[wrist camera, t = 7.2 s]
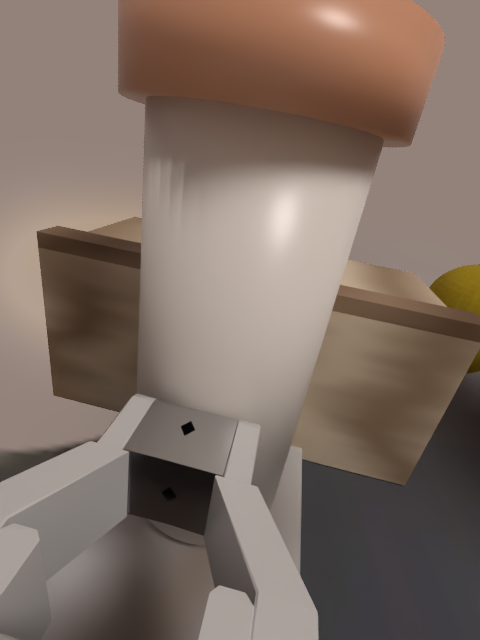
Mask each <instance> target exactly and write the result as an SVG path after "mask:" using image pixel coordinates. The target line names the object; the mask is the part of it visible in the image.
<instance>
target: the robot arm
mask: <svg viewBox="0 0 480 640" xmlns="http://www.w3.org/2000/svg"><path fill="white" fill-rule="evenodd" d="M238 421H239V422H238ZM260 430H261V426H260V425H259V424H255V423H251V422H247V421H242V420H237V419H233V418H229V417H224V416H220V415H216V414H212V413H208V412H204V411H200V410H196V409H193V408H189V407H185V406H182V405H178V404H175V403H171V402H168V401H164V400H161V399H155V398H152V397H148V396H145V395H141V394H138V393H137V394H135V395H134V396H132V397H131V398H130V400H129V401H128V402H127V404H126V405H125V406H124V407H123V409H122V410H121V411H120V413H119V414H118V416H117V417H116V418H115V419H114V421H113V422H112V423H111V424H110V426H109V427H108V428H107V430H106V431H105V432H104V434H103V435H102V436H101V438H100V439H99V440H98V441H97V443H96V442H92V441H89V442H87V443H85V444H82V445H80V446H78V447H76V448H74V449H72V450H69V451H67V452H65V453H63V454H61V455H59V456H56V457H54V458H52V459H50V460H48V461H46V462H43V463H41V464H39V465H37V466H35V467H32V468H30V469H28V470H26V471H24V472H22V473H19V474H17V475H15V476H13V477H11V478H9V479H6V480H4V481H2V482H0V640H41V639H42V637H43V635H44V633H45V632H46V630H47V628H48V626H49V624H50V622H51V612H50V605H49V599H48V592H47V585H46V581H47V580H48V579H49V578H51V577H52V576H53V575H54V574H56V573H57V572H58V571H59V570H61V569H62V568H63V567H64V566H66V565H67V564H68V563H69V562H71V561H72V560H73V559H74V558H76V557H77V556H78V555H79V554H81V553H82V552H83V551H84V550H86V549H87V548H88V547H89V546H91V545H92V544H93V543H94V542H96V541H97V540H98V539H99V538H101V537H102V536H103V535H104V534H106V533H107V532H108V531H109V530H111V529H112V528H113V527H114V526H116V525H117V524H118V523H119V522H121V521H122V520H123V519H124V518H126V517H127V514H130V515H134V516H138V517H142V518H146V519H150V520H154V521H158V522H162V523H165V524H169V525H172V526H175V527H178V528H181V529H184V530H187V531H190V532H193V533H196V534H200V535H203V536H204V542H205V546H206V551H207V555H208V560H209V564H210V569H211V573H212V578H213V582H214V587H215V589H214V590H212V591H211V592H210V593H209V597H208V601H207V606H206V610H205V614H204V618H203V622H202V626H201V630H200V634H199V638H198V640H318V612H317V610H316V608H315V606H314V604H313V602H312V600H311V597H310V595H309V593H308V591H307V589H306V587H305V585H304V583H303V581H302V579H301V576H300V574H299V572H298V570H297V568H296V566H295V564H294V562H293V560H292V557H291V555H290V553H289V551H288V549H287V547H286V545H285V543H284V541H283V539H282V536H281V534H280V532H279V530H278V528H277V526H276V524H275V522H274V520H273V517H272V515H271V513H270V511H269V509H268V507H267V505H266V503H265V501H264V498H263V496H262V494H261V492H260V490H259V488H258V487H257V486H254V485H251V481H252V476H253V470H254V464H255V459H256V453H257V447H258V442H259V436H260Z"/></svg>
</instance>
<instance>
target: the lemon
mask: <svg viewBox="0 0 480 640" xmlns="http://www.w3.org/2000/svg"><path fill="white" fill-rule="evenodd" d="M429 289H430V290H431V291H432V292H433V293H434V294H435V295H436V296H437V297H438V298H439V299H440V300H441V301H442V302H443V303H444V304H445V305H446V306H447V307H449V308H454V309H459V310H464V311H468V312H473V313H476V314H477V315H478V316H479V317H480V264H479V265H468V266H462V267H459V268H456V269H454V270H451V271H449V272H447V273H445V274H443V275H442V276H440V277H439V278H438V279H437V280H436V281H435V282H434V283H433V284H432V285H431V286H430V287H429ZM478 371H480V349H479V351H478V352H477V354H476V356H475V358H474V360H473V362H472V363H471V365H470V367H469V369H468V371H467V372H466V374H468V373H473V372H478Z"/></svg>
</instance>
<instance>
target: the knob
mask: <svg viewBox="0 0 480 640" xmlns="http://www.w3.org/2000/svg"><path fill="white" fill-rule="evenodd" d="M118 4H119V5H118V6H119V7H118V14H119V17H118V19H119V20H118V25H119V27H118V28H119V29H118V35H119V37H118V40H119V41H118V43H119V44H118V45H119V46H118V48H119V49H118V50H119V51H118V65H119V66H118V80H119V81H118V83H119V84H118V87H119V88H118V91H119V94H121V95H122V96H124V97H126V98H128V99H131V100H134V101H137V102H139V103H142V104H146V105H145V137H144V169H143V201H142V234H141V266H140V298H139V331H138V363H137V393H138V394H141V395H145V396H148V397H152V398H155V399H161V400H164V401H168V402H171V403H175V404H178V405H182V406H185V407H189V408H193V409H196V410H200V411H204V412H208V413H212V414H216V415H220V416H224V417H229V418H233V419H237V420H242V421H247V422H251V423H255V424H259V425H260V426H261V430H260V436H259V442H258V447H257V453H256V459H255V464H254V470H253V476H252V481H251V485H254V486H257V487H258V488H259V490H260V492H261V494H262V496H263V498H264V501H265V503H266V505H267V507H268V509H269V511H270V509H271V507H272V504H273V502H274V499H275V495H276V492H277V489H278V485H279V482H280V479H281V476H282V472H283V469H284V466H285V463H286V459H287V456H288V453H289V450H290V446H291V443H292V440H293V437H294V433H295V430H296V427H297V424H298V420H299V417H300V414H301V410H302V407H303V404H304V401H305V397H306V394H307V391H308V388H309V384H310V381H311V378H312V375H313V371H314V368H315V365H316V362H317V358H318V355H319V352H320V349H321V345H322V342H323V339H324V336H325V332H326V329H327V326H328V322H329V319H330V316H331V313H332V309H333V306H334V303H335V300H336V296H337V293H338V290H339V287H340V283H341V280H342V277H343V274H344V270H345V267H346V264H347V261H348V257H349V254H350V251H351V247H352V244H353V241H354V238H355V234H356V231H357V228H358V224H359V221H360V218H361V215H362V211H363V208H364V205H365V202H366V199H367V195H368V192H369V189H370V186H371V182H372V179H373V176H374V173H375V169H376V166H377V163H378V159H379V156H380V153H381V150H382V147H407V146H410V145H411V143H412V140H413V137H414V134H415V131H416V128H417V126H418V122H419V120H420V117H421V114H422V111H423V108H424V105H425V102H426V99H427V96H428V93H429V90H430V87H431V84H432V81H433V78H434V75H435V72H436V69H437V66H438V64H439V61H440V58H441V55H442V52H443V49H444V45H445V37H444V34H443V31H442V29H441V27H440V26H439V25H438V23H437V22H436V21H435V19H434V18H433V17H432V16H431V15H429V14H428V13H427V12H426V11H425V10H424V9H423V8H421V7H420V6H418V5H417V4H415V3H414V2H412V1H411V0H119V1H118ZM238 422H239V421H238ZM148 520H149V521H150V522H151V523H152V524H153V525H154V526H155V527H156V528H158V529H159V530H161V531H162V532H163V533H165V534H167V535H168V536H170V537H172V538H174V539H177V540H179V541H182V542H185V543H190V544H194V545H205V542H204V536H203V535H200V534H196V533H193V532H190V531H187V530H184V529H181V528H178V527H175V526H172V525H169V524H165V523H162V522H158V521H154V520H150V519H148Z"/></svg>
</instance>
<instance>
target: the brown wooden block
mask: <svg viewBox="0 0 480 640" xmlns="http://www.w3.org/2000/svg"><path fill="white" fill-rule="evenodd" d="M141 234H142V218H138V217H133V218H130V219H127V220H123V221H121V222H117V223H114V224H111V225H108V226H105V227H102V228H98V229H95V230H92V231H89V232H85V231H80V230H75V229H70V228H66V227H61V226H56V227H52V228H48V229H44V230H40V231H37V239H38V248H39V258H40V268H41V277H42V287H43V297H44V306H45V316H46V326H47V335H48V345H49V354H50V364H51V374H52V383H53V393H54V395H55V396H59V397H63V398H67V399H71V400H74V401H78V402H82V403H86V404H90V405H94V406H97V407H102V408H105V409H109V410H113V411H117V412H120V411H121V410H122V409H123V407H124V406H125V405H126V404H127V402H128V401H129V400H130V398H131V397H132V396H134V395H135V394H137V363H138V331H139V298H140V266H141ZM479 349H480V317H479V316H478V315H477V314H476V313H473V312H468V311H464V310H459V309H454V308H449V307H447V306H446V305H445V304H444V303H443V302H442V301H441V300H440V299H439V298H438V297H437V296H436V295H435V294H434V293H433V292H432V291H431V290H430V289H429V288H428V287H427V285H425V283H424V282H423V281H422V280H421V279H419V277H418V276H417V275H416V274H415V273H410V272H406V271H401V270H396V269H391V268H386V267H380V266H376V265H371V264H366V263H361V262H356V261H351V260H348V261H347V264H346V267H345V270H344V274H343V277H342V280H341V283H340V287H339V290H338V293H337V296H336V300H335V303H334V306H333V309H332V313H331V316H330V319H329V322H328V326H327V329H326V332H325V336H324V339H323V342H322V345H321V349H320V352H319V355H318V358H317V362H316V365H315V368H314V371H313V375H312V378H311V381H310V384H309V388H308V391H307V394H306V397H305V401H304V404H303V407H302V410H301V414H300V417H299V420H298V424H297V427H296V430H295V433H294V437H293V440H292V443H291V446H290V450H289V453H288V456H287V459H286V463H285V466H284V469H283V472H282V476H281V479H280V482H279V485H278V489H277V492H276V495H275V499H274V502H273V504H272V507H271V509H270V513H271V515H272V517H273V520H274V522H275V524H276V526H277V528H278V530H279V532H280V534H281V536H282V539H283V541H284V543H285V545H286V547H287V549H288V551H289V553H290V555H291V557H292V560H293V562H294V564H295V566H296V568H297V570H298V572H299V574H300V540H301V486H302V459H303V460H307V461H311V462H315V463H319V464H322V465H326V466H330V467H334V468H338V469H342V470H346V471H350V472H354V473H357V474H361V475H365V476H369V477H373V478H377V479H381V480H385V481H388V482H392V483H396V484H400V485H404V486H405V484H406V482H407V480H408V478H409V477H410V475H411V473H412V471H413V469H414V468H415V466H416V464H417V462H418V460H419V458H420V457H421V455H422V453H423V451H424V449H425V447H426V446H427V444H428V442H429V440H430V438H431V436H432V435H433V433H434V431H435V429H436V427H437V425H438V424H439V422H440V420H441V418H442V416H443V415H444V413H445V411H446V409H447V407H448V405H449V404H450V402H451V400H452V398H453V396H454V394H455V393H456V391H457V389H458V387H459V385H460V383H461V382H462V380H463V378H464V376H465V374H466V372H467V371H468V369H469V367H470V365H471V363H472V362H473V360H474V358H475V356H476V354H477V352H478V351H479ZM46 585H47V592H48V599H49V605H50V612H51V622H50V624H49V626H48V628H47V630H46V632H45V633H44V635H43V637H42V639H41V640H198V638H199V634H200V630H201V626H202V622H203V618H204V614H205V610H206V606H207V601H208V597H209V593H210V592H211V591H212V590H214V589H215V587H214V582H213V578H212V573H211V569H210V564H209V560H208V555H207V551H206V546H205V545H194V544H190V543H185V542H182V541H179V540H177V539H174V538H172V537H170V536H168V535H167V534H165V533H163V532H162V531H161V530H159V529H158V528H156V527H155V526H154V525H153V524H152V523H151V522H150V521H149V520H148V519H146V518H142V517H138V516H134V515H130V514H127V517H126V518H124V519H123V520H122V521H121V522H119V523H118V524H117V525H116V526H114V527H113V528H112V529H111V530H109V531H108V532H107V533H106V534H104V535H103V536H102V537H101V538H99V539H98V540H97V541H96V542H94V543H93V544H92V545H91V546H89V547H88V548H87V549H86V550H84V551H83V552H82V553H81V554H79V555H78V556H77V557H76V558H74V559H73V560H72V561H71V562H69V563H68V564H67V565H66V566H64V567H63V568H62V569H61V570H59V571H58V572H57V573H56V574H54V575H53V576H52V577H51V578H49V579H48V580H47V581H46Z"/></svg>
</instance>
